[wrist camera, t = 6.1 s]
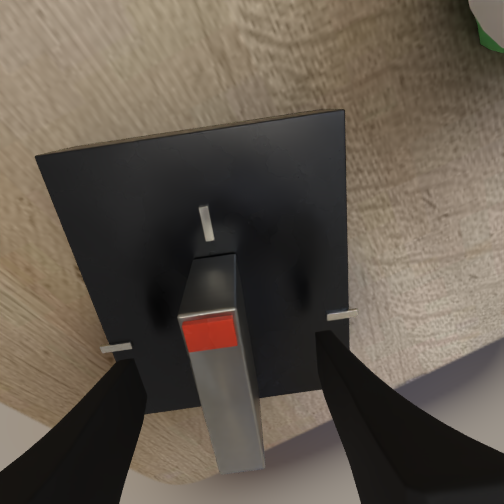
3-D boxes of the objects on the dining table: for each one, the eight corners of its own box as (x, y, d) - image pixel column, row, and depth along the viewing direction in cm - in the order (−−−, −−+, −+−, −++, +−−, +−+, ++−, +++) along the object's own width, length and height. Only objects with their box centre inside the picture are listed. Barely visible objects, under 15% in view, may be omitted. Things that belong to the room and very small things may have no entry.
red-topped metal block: (258, 388, 16) (266, 475, 12) (222, 393, 16) (219, 482, 12) (235, 252, 13) (236, 312, 9) (192, 259, 13) (174, 321, 9)
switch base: (340, 363, 20) (358, 406, 17) (151, 389, 20) (137, 437, 17) (331, 107, 14) (357, 107, 11) (64, 148, 14) (20, 158, 11)
